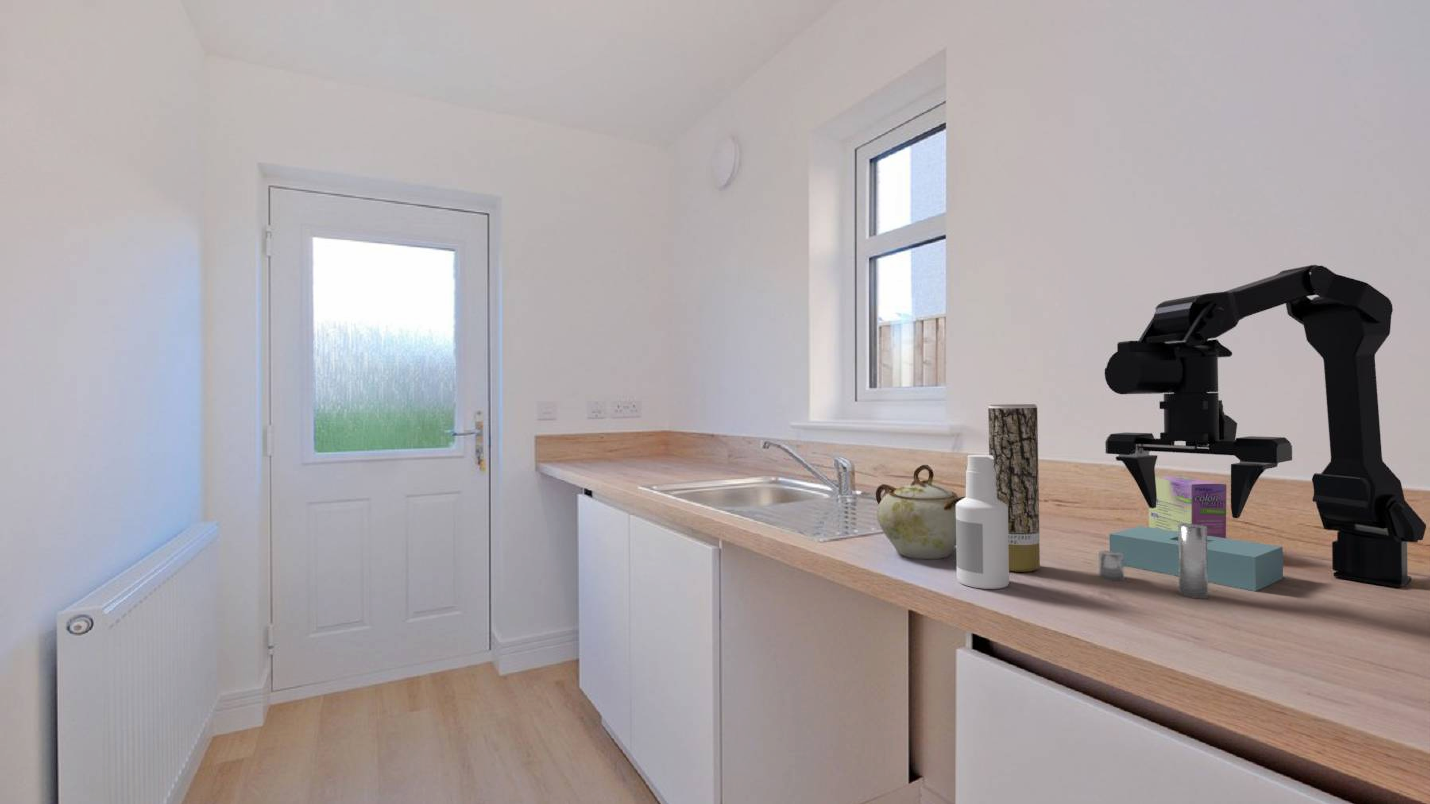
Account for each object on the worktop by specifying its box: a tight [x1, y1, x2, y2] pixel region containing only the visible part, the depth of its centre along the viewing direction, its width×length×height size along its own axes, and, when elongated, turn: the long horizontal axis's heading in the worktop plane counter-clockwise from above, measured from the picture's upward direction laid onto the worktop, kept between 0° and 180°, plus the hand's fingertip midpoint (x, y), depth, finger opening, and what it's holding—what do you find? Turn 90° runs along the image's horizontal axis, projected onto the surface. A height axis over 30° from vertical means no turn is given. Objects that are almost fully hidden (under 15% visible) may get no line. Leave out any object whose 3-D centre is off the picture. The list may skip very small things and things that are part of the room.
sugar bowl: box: [875, 464, 966, 560], centre depth 106 cm, size 20×15×15 cm
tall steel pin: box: [1178, 524, 1209, 599], centre depth 82 cm, size 3×3×9 cm
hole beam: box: [1109, 525, 1284, 592], centre depth 93 cm, size 18×10×4 cm, turn 32°
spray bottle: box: [955, 454, 1010, 590], centre depth 89 cm, size 7×7×18 cm
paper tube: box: [987, 403, 1041, 573], centre depth 96 cm, size 7×7×25 cm
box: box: [1148, 475, 1227, 538], centre depth 105 cm, size 10×6×12 cm, turn 179°
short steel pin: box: [1098, 550, 1125, 581], centre depth 90 cm, size 3×3×4 cm
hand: (1192, 512), depth 82 cm, fingers open, 9 cm apart
